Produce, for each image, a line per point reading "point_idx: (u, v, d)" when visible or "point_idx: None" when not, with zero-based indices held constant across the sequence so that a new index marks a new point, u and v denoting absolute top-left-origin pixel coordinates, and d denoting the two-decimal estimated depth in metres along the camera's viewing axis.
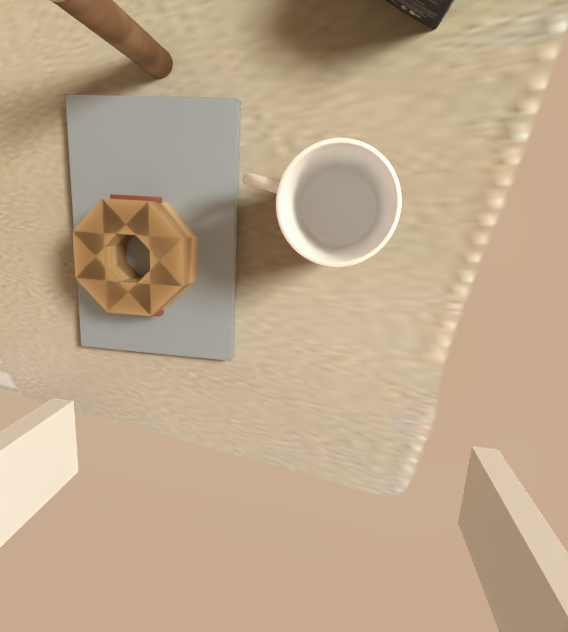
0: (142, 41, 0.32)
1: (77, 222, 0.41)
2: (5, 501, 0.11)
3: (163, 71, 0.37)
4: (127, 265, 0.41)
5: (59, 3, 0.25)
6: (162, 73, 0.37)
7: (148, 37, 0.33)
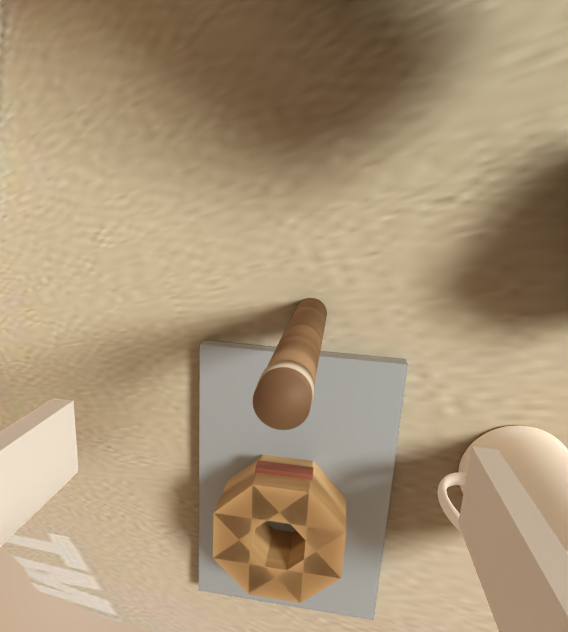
0: None
1: (204, 471, 0.36)
2: (5, 501, 0.11)
3: None
4: None
5: None
6: None
7: (323, 325, 0.28)
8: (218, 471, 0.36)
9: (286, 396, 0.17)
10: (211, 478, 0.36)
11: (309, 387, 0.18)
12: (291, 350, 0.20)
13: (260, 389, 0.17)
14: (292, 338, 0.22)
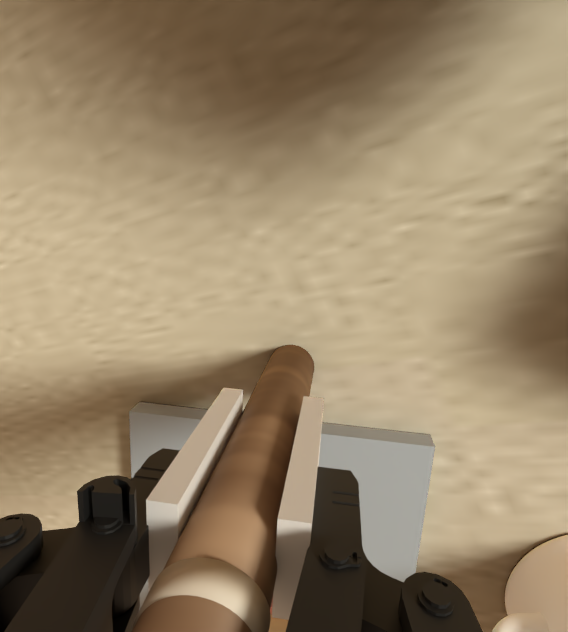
0: None
1: None
2: None
3: None
4: None
5: None
6: None
7: None
8: None
9: None
10: None
11: None
12: (227, 510, 0.10)
13: None
14: (240, 460, 0.12)
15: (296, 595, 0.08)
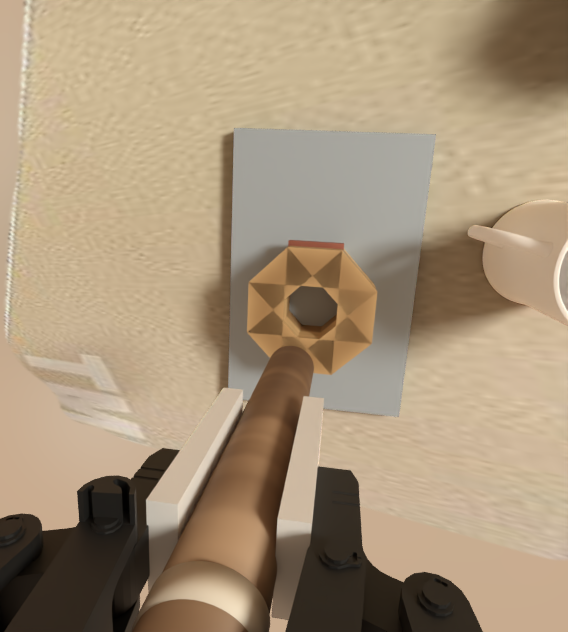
0: None
1: (235, 266, 0.37)
2: None
3: None
4: (291, 314, 0.37)
5: None
6: None
7: None
8: (249, 265, 0.37)
9: None
10: (242, 273, 0.37)
11: None
12: (226, 513, 0.10)
13: None
14: (239, 462, 0.12)
15: (296, 595, 0.08)
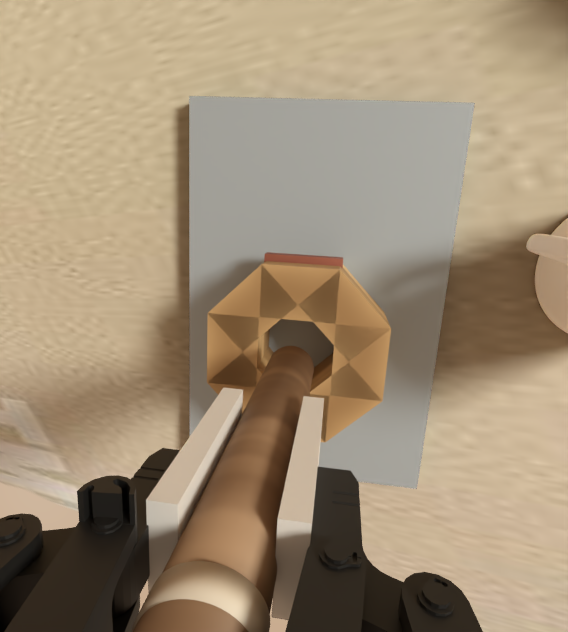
0: None
1: (195, 287, 0.27)
2: None
3: None
4: (271, 352, 0.27)
5: None
6: None
7: None
8: (214, 286, 0.27)
9: None
10: (205, 297, 0.27)
11: None
12: (226, 513, 0.10)
13: None
14: (239, 463, 0.12)
15: (296, 595, 0.08)
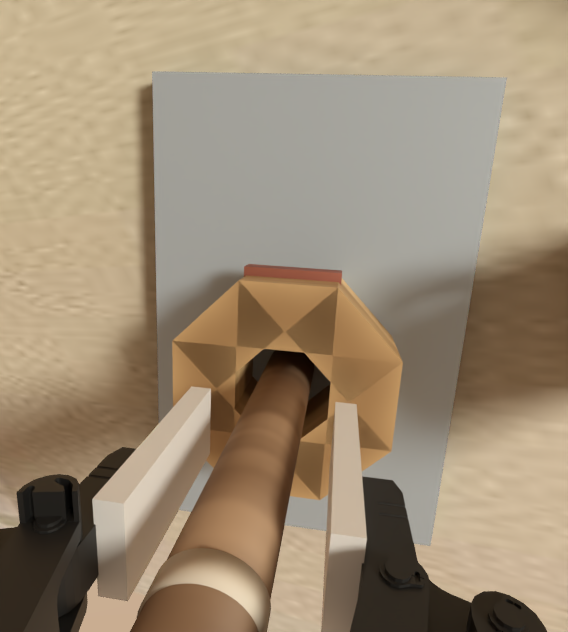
0: None
1: (164, 305, 0.23)
2: (179, 475, 0.13)
3: None
4: (255, 384, 0.23)
5: None
6: None
7: (305, 397, 0.18)
8: (186, 304, 0.22)
9: None
10: (176, 317, 0.23)
11: None
12: (228, 503, 0.10)
13: None
14: (240, 456, 0.12)
15: (355, 611, 0.07)
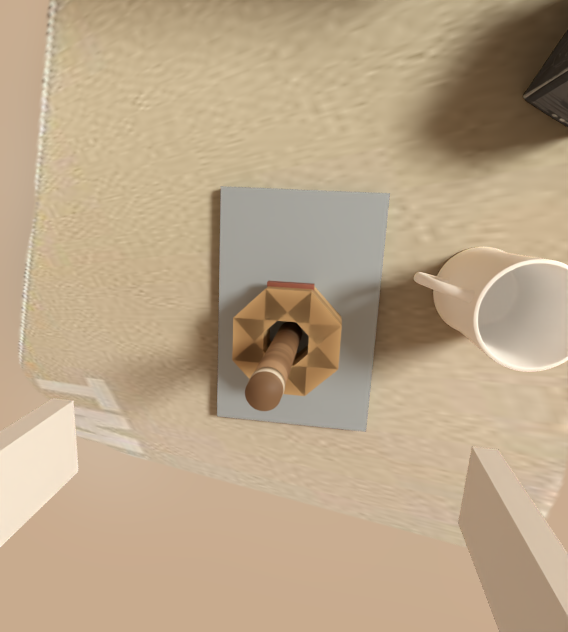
0: None
1: (222, 302, 0.43)
2: (5, 501, 0.11)
3: None
4: None
5: None
6: None
7: (297, 342, 0.38)
8: (235, 301, 0.43)
9: (266, 389, 0.27)
10: (229, 308, 0.43)
11: (281, 384, 0.28)
12: (270, 360, 0.30)
13: (249, 385, 0.27)
14: (272, 352, 0.32)
15: None
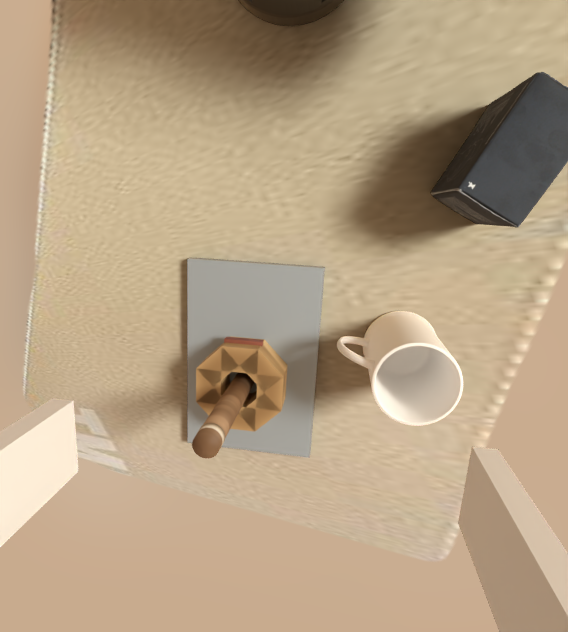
0: (244, 400, 0.46)
1: (190, 351, 0.52)
2: (5, 501, 0.11)
3: None
4: None
5: None
6: None
7: (247, 390, 0.47)
8: (200, 350, 0.52)
9: (207, 442, 0.36)
10: (195, 355, 0.52)
11: (220, 437, 0.37)
12: (216, 415, 0.39)
13: (195, 439, 0.36)
14: (220, 406, 0.41)
15: None
